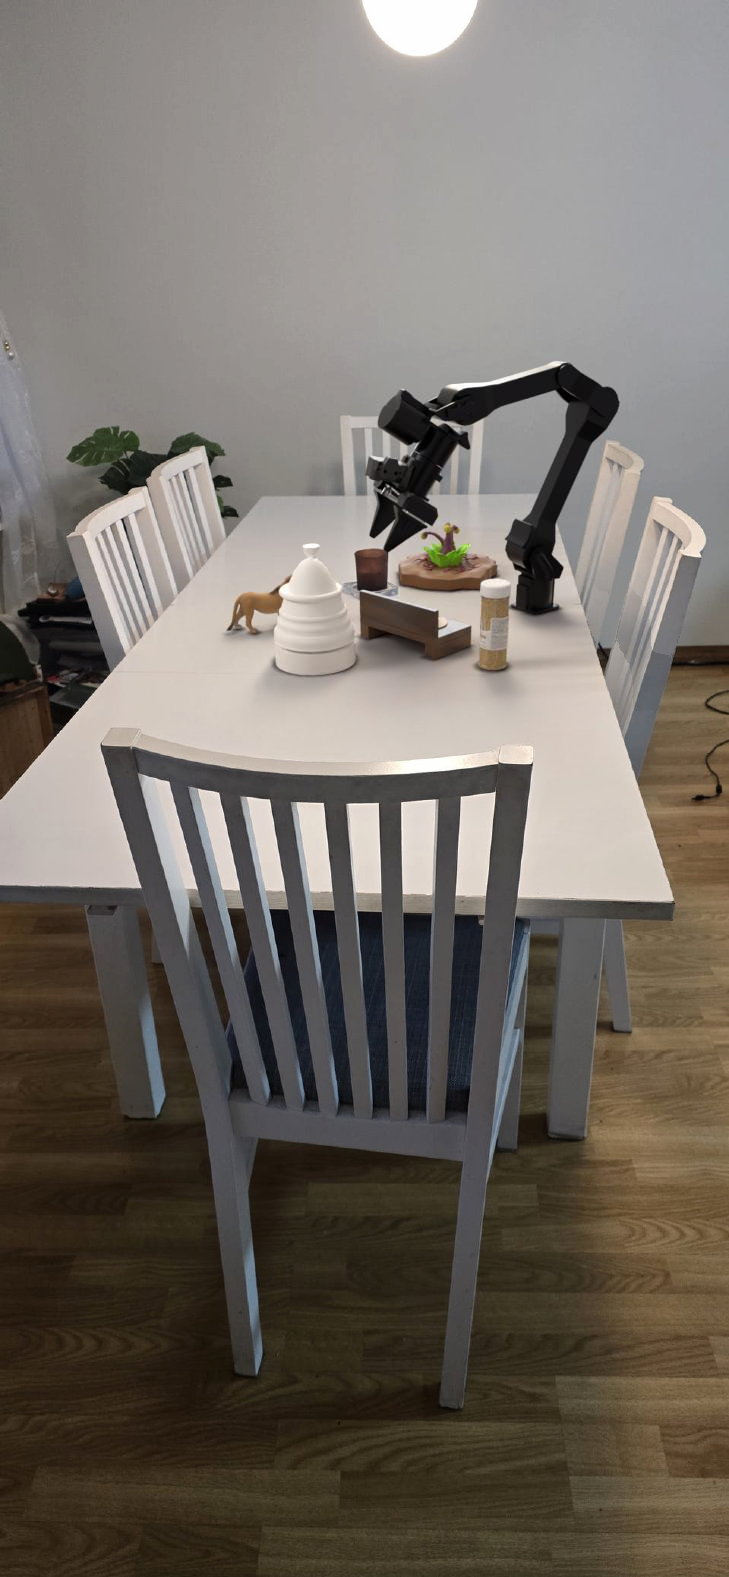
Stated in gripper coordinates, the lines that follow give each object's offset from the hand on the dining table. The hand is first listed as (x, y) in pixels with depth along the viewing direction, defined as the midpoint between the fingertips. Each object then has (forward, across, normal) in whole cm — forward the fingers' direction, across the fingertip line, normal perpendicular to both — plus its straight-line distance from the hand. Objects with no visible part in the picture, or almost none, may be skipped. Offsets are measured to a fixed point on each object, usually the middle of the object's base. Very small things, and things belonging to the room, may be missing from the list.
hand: (378, 544), depth 166 cm
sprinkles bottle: (+6, +24, +18) cm, 30 cm away
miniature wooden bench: (+10, +9, +11) cm, 17 cm away
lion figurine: (+23, -6, -7) cm, 24 cm away
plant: (+1, -26, +26) cm, 37 cm away
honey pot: (+20, +13, -4) cm, 24 cm away
